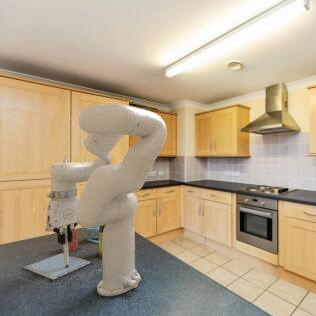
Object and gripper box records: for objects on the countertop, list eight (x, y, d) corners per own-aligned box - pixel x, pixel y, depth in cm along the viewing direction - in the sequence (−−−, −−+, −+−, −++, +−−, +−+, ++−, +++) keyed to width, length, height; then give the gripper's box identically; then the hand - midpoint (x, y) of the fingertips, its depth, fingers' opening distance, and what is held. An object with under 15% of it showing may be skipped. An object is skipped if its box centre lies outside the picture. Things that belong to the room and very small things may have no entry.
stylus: (70, 266, 81) (67, 227, 81) (65, 268, 79) (63, 228, 80) (68, 266, 81) (65, 227, 81) (63, 267, 80) (61, 228, 80)
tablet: (91, 263, 85) (91, 261, 85) (52, 281, 73) (52, 278, 73) (62, 254, 93) (62, 252, 93) (23, 269, 81) (23, 266, 81)
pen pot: (80, 249, 98) (79, 230, 98) (68, 253, 94) (68, 233, 94) (74, 247, 100) (73, 228, 100) (62, 251, 95) (62, 232, 95)
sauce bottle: (107, 258, 89) (106, 211, 89) (95, 257, 90) (94, 211, 90) (119, 251, 95) (118, 207, 95) (107, 250, 97) (106, 207, 96)
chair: (95, 237, 112) (95, 214, 112) (109, 237, 111) (109, 215, 111) (82, 243, 105) (82, 219, 105) (97, 243, 104) (97, 219, 103)
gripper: (44, 199, 72) (45, 253, 72) (91, 192, 86) (92, 236, 86) (32, 198, 75) (33, 249, 75) (80, 191, 89) (81, 234, 89)
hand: (65, 242), depth 80 cm, fingers closed on stylus, 1 cm apart
